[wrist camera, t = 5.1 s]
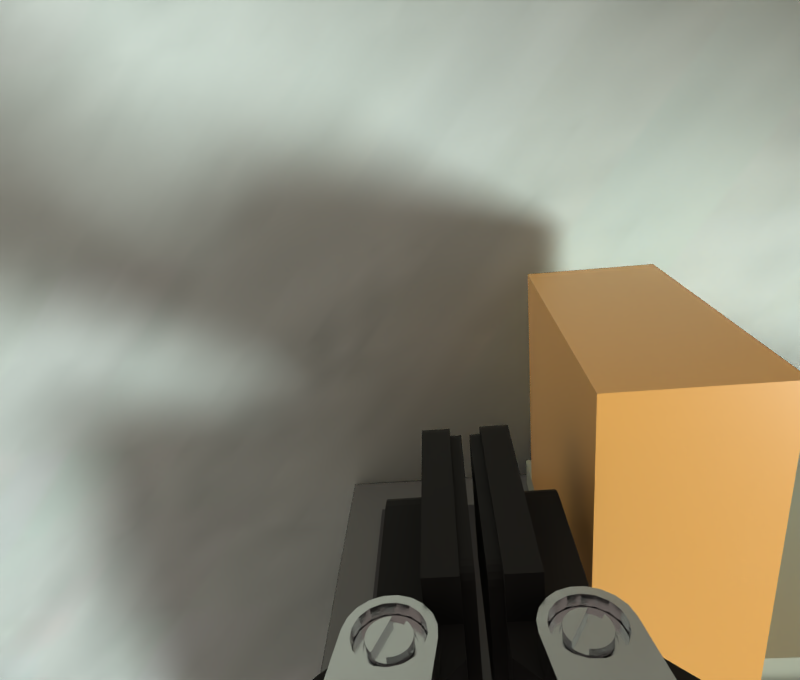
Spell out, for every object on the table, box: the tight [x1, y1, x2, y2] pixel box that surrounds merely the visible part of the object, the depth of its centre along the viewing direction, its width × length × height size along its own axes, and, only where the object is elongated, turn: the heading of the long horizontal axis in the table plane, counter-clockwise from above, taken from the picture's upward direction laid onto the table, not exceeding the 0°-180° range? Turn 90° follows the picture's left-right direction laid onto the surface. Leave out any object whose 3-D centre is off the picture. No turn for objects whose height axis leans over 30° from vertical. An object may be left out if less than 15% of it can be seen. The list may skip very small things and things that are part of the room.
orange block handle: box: [526, 264, 800, 680], centre depth 13 cm, size 9×7×8 cm
